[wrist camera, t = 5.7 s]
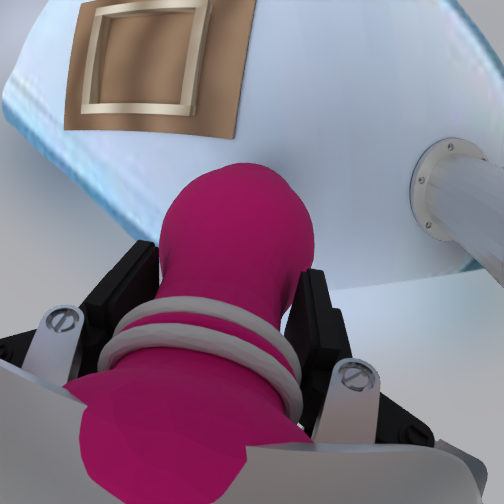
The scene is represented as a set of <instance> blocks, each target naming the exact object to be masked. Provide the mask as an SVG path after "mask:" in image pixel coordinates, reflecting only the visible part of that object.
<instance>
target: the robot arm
mask: <svg viewBox="0 0 504 504" xmlns="http://www.w3.org/2000/svg"><path fill="white" fill-rule="evenodd" d="M419 178H420V179H419ZM418 179H419V181H418ZM410 200H411V206H412V210H413V213H414V216H415V218H416V220H417V222H418V223H419V225H420V226H421V227H422V228H423V229H424V230H425V231H426V232H427V233H428V234H429V235H430V236H432V237H434V238H436V239H437V240H441V241H456V242H457V243H458V244H460V245H461V246H462V247H463V248H464V249H465V250H466V251H467V252H468V253H469V254H470V255H471V256H472V257H473V258H475V259H476V260H477V261H478V262H479V263H480V264H481V265H482V266H483V267H484V268H485V269H486V270H487V271H488V272H489V273H490V274H491V275H492V276H493V277H494V278H495V279H496V280H497V282H498V283H499V284H500V285H502V287H503V288H504V168H502V167H499V166H497V165H494V164H492V163H489V162H488V160H487V158H486V156H485V155H484V153H483V152H482V151H481V150H480V149H479V148H478V147H477V146H476V145H474V144H473V143H471V142H469V141H466V140H463V139H457V138H449V139H445V140H442V141H439V142H437V143H436V144H434V145H432V146H431V147H430V148H429V149H428V150H427V151H426V152H425V153H424V155H423V156H422V157H421V159H420V160H419V162H418V164H417V166H416V168H415V171H414V174H413V177H412V182H411V189H410ZM158 289H159V248H158V247H155V244H154V242H149V241H143V240H138V241H137V242H136V243H135V244H134V245H133V246H132V248H131V249H130V250H129V251H128V252H127V253H126V254H125V255H124V256H123V257H122V258H121V260H120V261H119V262H118V263H117V264H116V265H115V266H114V268H113V269H112V270H110V271H109V272H108V273H107V274H106V275H105V277H104V278H103V279H102V280H101V281H100V282H99V284H98V285H97V286H96V287H95V288H94V289H93V291H92V292H91V293H90V294H89V295H88V296H87V298H86V299H85V300H84V301H83V303H82V304H81V305H80V306H79V307H78V308H77V307H75V306H71V305H60V306H56V307H54V308H52V309H50V310H49V311H47V312H46V314H45V315H44V316H43V318H42V320H41V322H40V324H39V327H38V329H35V330H31V331H28V332H24V333H20V334H17V335H13V336H9V337H6V338H2V339H0V504H125V503H123V502H122V501H121V500H119V499H118V498H116V497H115V496H113V495H112V494H110V493H109V492H108V491H106V490H105V489H103V488H102V487H101V486H99V485H98V484H97V483H95V482H94V481H93V480H92V479H91V478H90V477H89V475H88V474H87V472H86V469H85V466H84V464H83V461H82V458H81V452H80V445H79V432H80V425H81V419H82V415H83V412H84V410H85V409H86V408H87V407H88V406H87V405H86V404H85V403H83V402H82V401H80V400H79V399H78V398H76V397H75V396H74V395H72V394H71V393H70V392H69V391H68V390H67V389H65V388H62V386H64V385H65V384H66V383H68V382H69V381H72V380H75V379H77V378H80V377H83V376H85V375H88V374H92V373H98V361H99V357H100V353H101V351H102V350H103V348H104V346H105V345H106V344H107V343H108V342H109V341H110V340H111V339H112V337H113V334H114V331H115V329H116V327H117V325H118V323H119V322H120V321H121V319H122V318H123V317H124V316H125V315H126V314H127V313H129V312H130V311H131V310H133V309H134V308H136V307H137V306H139V305H141V304H143V303H146V302H149V301H151V300H154V298H155V296H156V294H157V291H158ZM284 337H285V338H286V340H287V341H288V342H289V343H290V344H291V346H292V347H293V349H294V351H295V353H296V354H297V357H298V360H299V363H300V367H301V374H302V378H301V384H300V390H301V392H302V399H303V411H302V415H301V417H300V419H299V423H300V424H301V425H302V426H303V427H302V430H303V431H304V432H305V433H306V435H307V436H308V437H309V438H310V439H311V440H312V441H313V442H314V443H300V442H290V443H280V444H269V445H257V446H246V453H247V462H246V464H245V465H244V466H243V468H242V469H241V471H240V472H239V474H238V475H237V477H236V478H235V479H234V481H233V482H232V484H231V485H230V486H229V488H228V489H227V490H226V492H225V493H224V494H223V495H222V496H221V497H220V498H219V499H218V500H216V501H215V502H214V503H211V504H483V503H482V499H481V498H482V495H483V492H484V488H485V485H486V482H487V475H488V473H487V469H486V466H485V465H484V463H483V462H482V461H480V460H479V459H477V458H475V457H473V456H471V455H469V454H467V453H465V452H464V451H462V450H460V449H458V448H456V447H454V446H452V445H450V444H448V443H447V442H445V441H443V440H441V439H439V440H438V441H435V439H434V435H433V433H432V431H431V430H430V428H429V427H428V426H427V425H426V424H424V423H423V422H422V421H420V420H419V419H418V418H416V417H415V416H413V415H412V414H410V413H409V412H408V411H406V410H405V409H403V408H402V407H401V406H399V405H398V404H396V403H395V402H394V401H392V400H391V399H389V398H388V397H387V396H385V395H384V394H382V393H381V392H380V376H379V374H378V372H377V371H376V370H375V369H374V368H373V366H371V365H370V364H368V363H367V362H365V361H363V360H360V359H356V358H353V357H352V353H351V348H350V344H349V340H348V336H347V332H346V328H345V324H344V320H343V316H342V313H341V310H340V309H338V308H332V304H331V300H330V296H329V292H328V287H327V283H326V279H325V275H324V272H323V271H322V270H316V269H310V268H308V269H307V271H306V272H304V271H301V273H300V277H299V280H298V284H297V288H296V292H295V295H294V299H293V303H292V306H291V310H290V314H289V317H288V321H287V324H286V328H285V332H284Z"/></svg>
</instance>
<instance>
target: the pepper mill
mask: <svg viewBox="0 0 504 504" xmlns="http://www.w3.org/2000/svg"><path fill="white" fill-rule="evenodd" d="M159 258H160V265H161V271H162V277H163V279H162V282H161V284H160V287H159V289H158V291H157V294H156V296H155V298H154V300H151V301H149V302H146V303H143V304H141V305H139V306H137V307H136V308H134V309H133V310H131V311H130V312H129V313H127V314H126V315H125V316H124V317H123V318H122V319H121V321H120V322H119V323H118V325H117V327H116V329H115V331H114V334H113V337H112V339H111V340H110V341H109V342H108V343H107V344H106V345H105V346H104V348H103V350H102V351H101V353H100V357H99V361H98V373H92V374H88V375H85V376H83V377H80V378H77V379H75V380H72V381H69V382H68V383H66V384H65V385H64V386H62V388H65V389H67V390H68V391H69V392H70V393H71V394H72V395H74V396H75V397H76V398H78V399H79V400H80V401H82V402H83V403H85V404H86V405H87V406H88V407H87V408H86V409H85V410H84V412H83V415H82V419H81V425H80V432H79V445H80V452H81V458H82V461H83V464H84V466H85V469H86V472H87V474H88V475H89V477H90V478H91V479H92V480H93V481H94V482H95V483H97V484H98V485H99V486H101V487H102V488H103V489H105V490H106V491H108V492H109V493H110V494H112V495H113V496H115V497H116V498H118V499H119V500H121V501H122V502H123V503H125V504H211V503H214V502H215V501H216V500H218V499H219V498H220V497H221V496H222V495H223V494H224V493H225V492H226V490H227V489H228V488H229V486H230V485H231V484H232V482H233V481H234V479H235V478H236V477H237V475H238V474H239V472H240V471H241V469H242V468H243V466H244V465H245V464H246V462H247V453H246V446H257V445H269V444H280V443H290V442H300V443H314V442H313V441H312V440H311V439H310V438H309V437H308V436H307V435H306V433H305V432H304V431H303V430H302V429H301V428H300V427H298V426H297V424H298V422H299V419H300V417H301V415H302V411H303V399H302V392H301V390H300V384H301V378H302V374H301V367H300V363H299V360H298V357H297V354H296V353H295V351H294V349H293V347H292V346H291V344H290V343H289V342H288V341H287V340H286V338H285V337H284V336H283V335H282V334H281V333H280V324H281V319H282V316H283V315H284V313H285V312H286V311H287V309H288V308H289V307H290V306H291V304H292V303H293V299H294V295H295V292H296V288H297V284H298V280H299V277H300V273H301V271H304V272H306V271H307V269H308V268H310V269H311V266H312V262H313V259H314V233H313V226H312V222H311V219H310V216H309V213H308V211H307V209H306V207H305V205H304V204H303V202H302V201H301V199H300V198H299V196H298V195H297V194H296V193H295V192H294V191H293V190H292V189H291V188H290V186H289V185H288V183H287V182H286V181H285V180H284V179H283V178H282V177H281V176H280V175H279V174H277V173H276V172H275V171H273V170H271V169H269V168H267V167H264V166H262V165H258V164H252V163H236V164H232V165H228V166H225V167H223V168H221V169H217V170H213V171H211V172H208V173H206V174H203V175H201V176H200V177H198V178H196V179H195V180H193V181H192V182H190V183H189V184H188V185H187V186H186V187H185V188H184V189H183V190H182V191H181V192H180V194H179V195H178V196H177V197H176V199H175V200H174V201H173V203H172V205H171V206H170V208H169V209H168V211H167V213H166V215H165V218H164V220H163V224H162V229H161V234H160V240H159Z"/></svg>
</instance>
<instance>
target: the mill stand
mask: <svg viewBox="0 0 504 504" xmlns="http://www.w3.org/2000/svg"><path fill="white" fill-rule="evenodd" d="M255 5H256V0H95V1H91V2H86V3H82V4H81V7H80V11H79V15H78V19H77V24H76V29H75V34H74V39H73V45H72V51H71V57H70V64H69V71H68V80H67V89H66V100H65V115H64V130H124V131H147V132H163V133H177V134H188V135H198V136H208V137H217V138H225V139H234V133H235V126H236V119H237V113H238V106H239V99H240V93H241V87H242V80H243V74H244V68H245V62H246V56H247V50H248V44H249V38H250V32H251V27H252V21H253V16H254V10H255Z"/></svg>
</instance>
